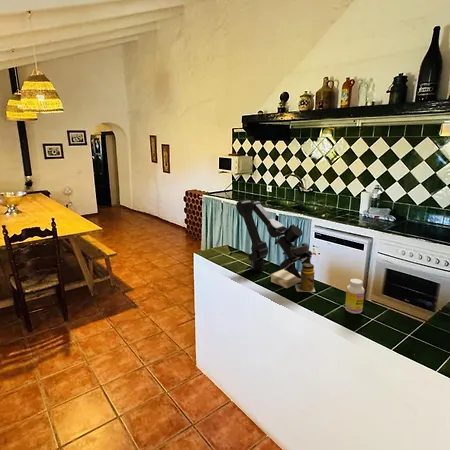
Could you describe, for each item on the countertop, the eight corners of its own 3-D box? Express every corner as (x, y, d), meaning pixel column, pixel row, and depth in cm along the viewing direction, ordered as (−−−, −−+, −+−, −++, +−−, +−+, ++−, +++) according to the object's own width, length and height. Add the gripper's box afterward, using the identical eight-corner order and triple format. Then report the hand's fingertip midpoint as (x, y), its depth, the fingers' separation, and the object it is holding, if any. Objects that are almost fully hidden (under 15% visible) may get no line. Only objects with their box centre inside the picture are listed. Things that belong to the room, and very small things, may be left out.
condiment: (315, 292, 146) (316, 267, 143) (296, 291, 147) (297, 267, 144) (312, 285, 153) (313, 261, 150) (294, 284, 154) (295, 261, 151)
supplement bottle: (355, 316, 126) (358, 286, 122) (341, 308, 131) (343, 280, 128) (365, 311, 129) (368, 281, 126) (351, 304, 134) (354, 276, 131)
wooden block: (271, 281, 158) (271, 274, 157) (286, 274, 165) (286, 267, 164) (287, 288, 150) (287, 280, 149) (302, 280, 158) (302, 273, 157)
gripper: (285, 242, 142) (305, 273, 136) (310, 234, 153) (329, 261, 148) (271, 255, 149) (289, 284, 144) (296, 246, 161) (314, 272, 156)
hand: (306, 275), depth 148 cm, fingers open, 9 cm apart
